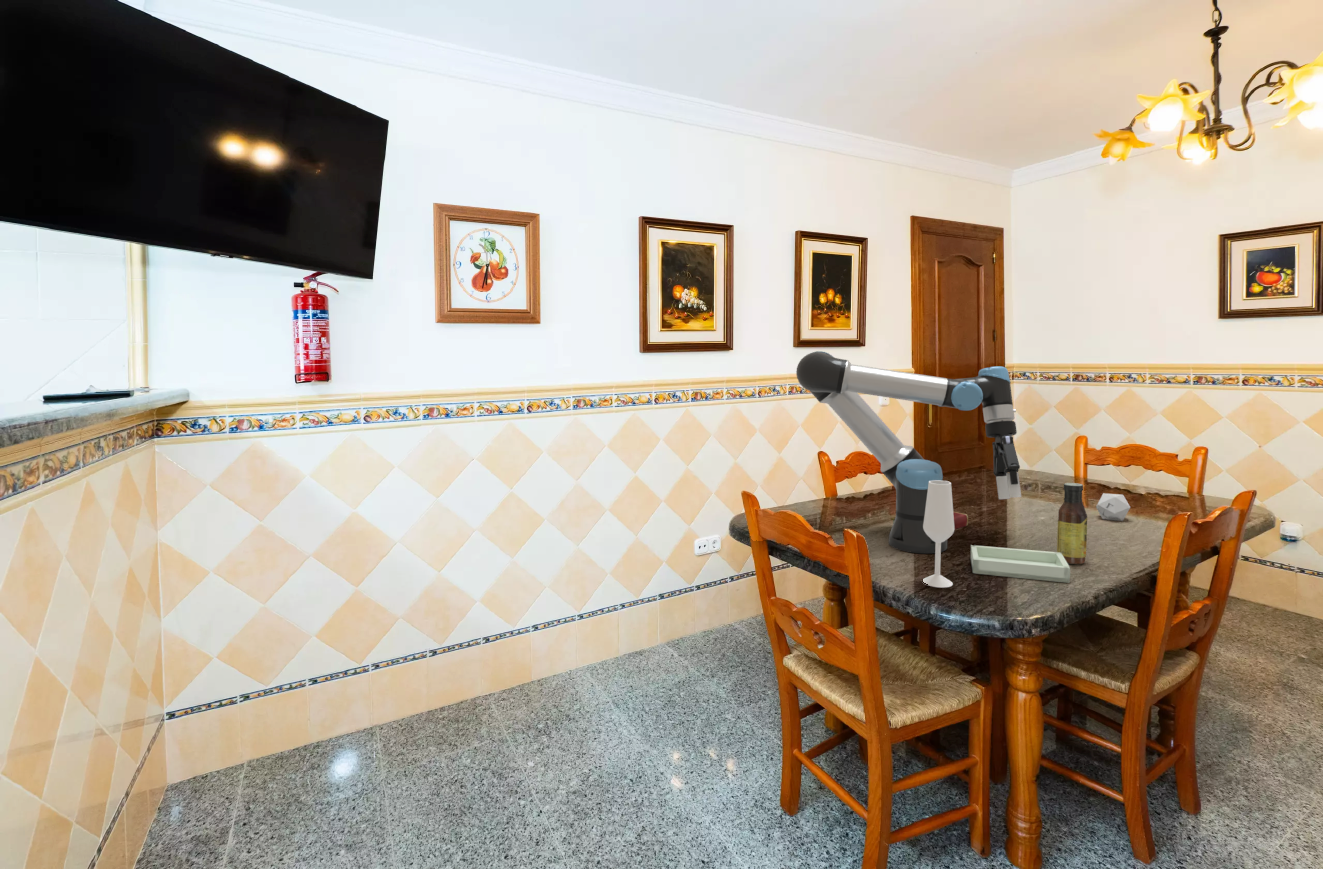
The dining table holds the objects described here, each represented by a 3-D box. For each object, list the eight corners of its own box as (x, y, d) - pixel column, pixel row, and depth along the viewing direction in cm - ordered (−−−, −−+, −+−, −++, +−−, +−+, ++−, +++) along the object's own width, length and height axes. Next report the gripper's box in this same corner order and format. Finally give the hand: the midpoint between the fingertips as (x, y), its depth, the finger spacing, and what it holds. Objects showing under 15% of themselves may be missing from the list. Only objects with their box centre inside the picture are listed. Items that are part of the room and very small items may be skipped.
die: (1088, 517, 198) (1091, 497, 192) (1107, 502, 200) (1110, 482, 194) (1115, 531, 192) (1119, 512, 186) (1133, 516, 194) (1138, 496, 188)
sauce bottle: (1090, 566, 154) (1095, 487, 151) (1062, 565, 155) (1066, 487, 153) (1078, 557, 160) (1082, 481, 158) (1051, 556, 162) (1055, 481, 159)
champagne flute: (915, 579, 149) (917, 481, 145) (937, 575, 151) (940, 478, 148) (936, 589, 142) (939, 486, 139) (959, 584, 145) (962, 483, 142)
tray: (972, 573, 152) (973, 559, 151) (970, 558, 162) (970, 545, 162) (1069, 583, 144) (1070, 568, 143) (1060, 566, 154) (1060, 552, 154)
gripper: (1025, 413, 161) (1037, 495, 158) (1005, 427, 184) (1014, 499, 181) (993, 416, 163) (1004, 497, 160) (977, 429, 187) (986, 500, 183)
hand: (1009, 498), depth 170 cm, fingers open, 13 cm apart
